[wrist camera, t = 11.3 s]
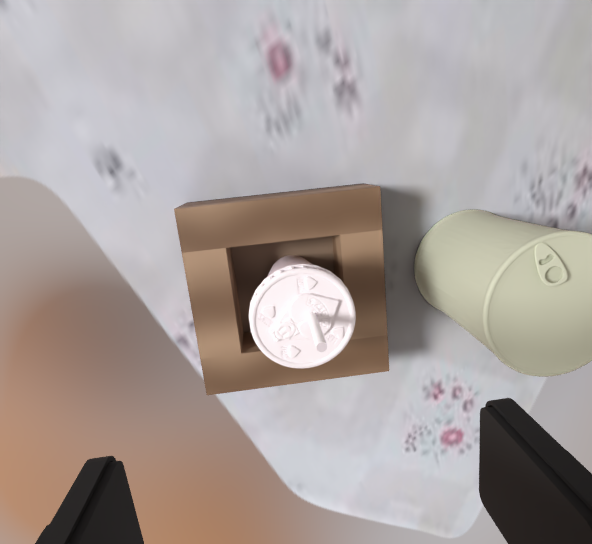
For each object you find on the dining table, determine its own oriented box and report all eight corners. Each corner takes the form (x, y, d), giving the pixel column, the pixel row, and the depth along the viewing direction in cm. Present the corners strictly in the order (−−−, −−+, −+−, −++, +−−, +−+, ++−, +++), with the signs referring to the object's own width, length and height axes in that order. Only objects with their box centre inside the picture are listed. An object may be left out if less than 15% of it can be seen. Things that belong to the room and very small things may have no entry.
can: (499, 190, 34) (620, 203, 23) (530, 286, 37) (654, 341, 25) (397, 239, 35) (466, 276, 23) (435, 330, 37) (514, 406, 25)
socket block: (187, 202, 33) (174, 209, 28) (363, 183, 33) (380, 186, 28) (214, 364, 36) (206, 395, 31) (372, 344, 37) (389, 370, 32)
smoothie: (344, 290, 34) (398, 372, 21) (276, 328, 35) (286, 432, 21) (307, 223, 33) (339, 264, 19) (236, 263, 33) (219, 331, 20)
